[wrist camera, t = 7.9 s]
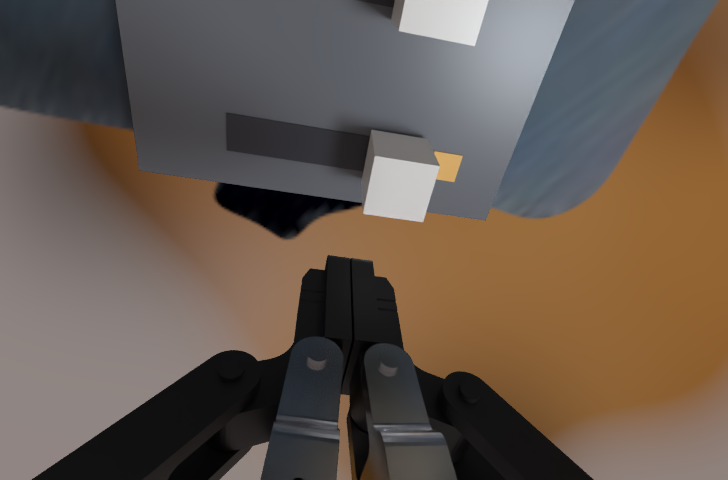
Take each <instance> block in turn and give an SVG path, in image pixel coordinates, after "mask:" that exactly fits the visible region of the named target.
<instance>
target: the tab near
mask: <svg viewBox="0 0 728 480" xmlns="http://www.w3.org/2000/svg"><path fill="white" fill-rule="evenodd" d="M488 1H489V0H395V2H394V7H393V13H392V18H391V22H392V23H393V24H394V26H395V27H396V28H397V30H398V31H401V32H406V33H411V34H416V35H421V36H426V37H431V38H436V39H441V40H446V41H451V42H456V43H461V44H466V45H471V46H475V44H476V41H477V37H478V34H479V31H480V28H481V24H482V21H483V18H484V14H485V11H486V8H487V4H488Z"/></svg>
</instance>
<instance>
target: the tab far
mask: <svg viewBox="0 0 728 480" xmlns="http://www.w3.org/2000/svg"><path fill="white" fill-rule="evenodd" d="M439 168H440V165H439V163H438V161H437V158H436V156H435V154H434V152H433V150H432V147H431V145H430V143H429V141H428V139H425V138H419V137H413V136H407V135H401V134H395V133H389V132H383V131H377V130H371V134H370V140H369V145H368V150H367V155H366V160H365V166H364V171H363V176H362V181H361V185H362V204H363V214H368V215H375V216H382V217H389V218H396V219H404V220H411V221H418V222H423V220H424V217H425V214H426V211H427V207H428V204H429V201H430V197H431V194H432V191H433V188H434V184H435V181H436V178H437V174H438V171H439Z"/></svg>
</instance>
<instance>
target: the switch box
mask: <svg viewBox="0 0 728 480" xmlns="http://www.w3.org/2000/svg"><path fill="white" fill-rule="evenodd" d="M115 1H116V8H117V15H118V22H119V29H120V36H121V43H122V50H123V58H124V65H125V72H126V79H127V86H128V93H129V100H130V107H131V114H132V122H133V129H134V136H135V143H136V150H137V157H138V164H139V170H140V171H146V172H153V173H160V174H166V175H173V176H180V177H187V178H194V179H201V180H208V181H215V182H222V183H229V184H236V185H243V186H250V187H257V188H263V189H270V190H277V191H284V192H291V193H298V194H305V195H312V196H319V197H326V198H333V199H340V200H347V201H354V202H361V203H362V185H361V181H362V176H363V171H364V166H365V160H366V155H367V150H368V145H369V140H370V134H371V130H377V131H383V132H389V133H395V134H401V135H407V136H413V137H419V138H425V139H428V141H429V143H430V145H431V147H432V150H433V152H434V154H435V156H436V158H437V161H438V163H439V165H440V168H439V171H438V174H437V178H436V181H435V184H434V188H433V191H432V194H431V197H430V201H429V204H428V207H427V211H426V212H430V213H437V214H445V215H451V216H458V217H465V218H471V219H479V220H486V218H487V216H488V213H489V211H490V208H491V206H492V203H493V201H494V198H495V196H496V193H497V191H498V188H499V186H500V183H501V181H502V179H503V176H504V174H505V171H506V169H507V166H508V164H509V161H510V159H511V156H512V154H513V151H514V149H515V146H516V144H517V141H518V139H519V136H520V134H521V131H522V129H523V127H524V124H525V122H526V119H527V117H528V114H529V112H530V109H531V107H532V104H533V102H534V99H535V97H536V94H537V92H538V89H539V87H540V84H541V82H542V79H543V77H544V75H545V72H546V70H547V67H548V65H549V62H550V60H551V57H552V55H553V52H554V50H555V47H556V45H557V42H558V40H559V37H560V35H561V32H562V30H563V27H564V25H565V23H566V20H567V18H568V15H569V13H570V10H571V8H572V5H573V3H574V0H489V1H488V4H487V8H486V11H485V14H484V18H483V21H482V24H481V28H480V31H479V34H478V37H477V41H476V44H475V46H471V45H466V44H461V43H456V42H451V41H446V40H441V39H436V38H431V37H426V36H421V35H416V34H411V33H406V32H401V31H398V30H397V28H396V27H395V26H394V24H393V23H392V22H391V18H392V13H393V7H394V2H395V0H115Z"/></svg>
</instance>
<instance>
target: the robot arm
mask: <svg viewBox="0 0 728 480" xmlns="http://www.w3.org/2000/svg"><path fill="white" fill-rule="evenodd" d="M395 301H396V300H395V293H394V289H393V287H392V286H391V284H390V283H389V281H388V280H387V278H384V277H376V276H374V269H373V262H372V261H369V260H361V259H354V258H351V259H349V258H345V257H337V256H330V255H328V256H327V261H326V266H325V270H318V269H309V271H308V272H307V273H306V274H305V276H304V277H303V278H302V285H301V292H300V299H299V306H298V313H297V321H296V329H295V337H294V343H293V345H292V346H291V348H290V349H289V350H288V351H286V352H285V353H284V354H282V355H280V356H278V357H275V358H272V359H268V360H262V361H257V360H256V359H255V358H254V357H253V356H252V355H250V354H248V353H246V352H243V351H237V350H230V351H224V352H221V353H219V354H216V355H215V356H213V357H211V358H210V359H208V360H207V361H205V362H204V363H203V364H201V365H200V366H198V367H197V368H195V369H194V370H192V371H191V372H189V373H188V374H186V375H185V376H183V377H182V378H180V379H179V380H177V381H176V382H175V383H173V384H172V385H170V386H169V387H167V388H166V389H164V390H163V391H161V392H160V393H159V394H157V395H155V396H154V397H152V398H151V399H150V400H148V401H147V402H145V403H144V404H142V405H141V406H139V407H138V408H136V409H135V410H133V411H132V412H131V413H129V414H128V415H126V416H125V417H123V418H122V419H120V420H119V421H117V422H116V423H114V424H113V425H111V426H110V427H109V428H107V429H105V430H104V431H102V432H101V433H100V434H98V435H97V436H95V437H94V438H92V439H91V440H89V441H88V442H86V443H85V444H83V445H82V446H80V447H79V448H78V449H76V450H75V451H73V452H72V453H70V454H69V455H67V456H66V457H64V458H63V459H61V460H60V461H58V462H57V463H55V464H54V465H53V466H51V467H50V468H48V469H47V470H46V471H44V472H42V473H41V474H39V475H38V476H36V477H35V478H33V479H32V480H219V479H221V478H222V476H224V475H225V474H226V473H227V472H228V471H229V470H230V469H231V468H232V467H233V466H234V465H235V464H236V463H237V462H238V461H239V460H240V459H241V458H242V457H243V456H244V455H245V454H246V453H247V452H248V451H249V450H250V449H251V447H252V446H254V445H258V444H261V443H265V442H269V445H268V450H267V454H266V458H265V462H264V467H263V471H262V476H261V480H336V478H337V465H338V453H339V439H340V430H339V429H338V417H339V404H340V394H345V395H350V407H349V411H348V414H347V431H348V442H349V454H350V465H351V475H352V480H593V479H592V478H591V477H590V476H589V475H588V474H587V473H586V472H584V471H583V470H582V469H581V468H580V467H579V466H578V465H577V464H575V463H574V462H573V461H572V460H571V459H570V458H569V457H568V456H566V455H565V454H564V453H563V452H562V451H561V450H560V449H559V448H557V447H556V446H555V445H554V444H553V443H552V442H551V441H550V440H548V439H547V438H546V437H545V436H544V435H543V434H542V433H541V432H540V431H538V430H537V429H536V428H535V427H534V426H533V425H532V424H531V423H530V422H528V421H527V420H526V419H525V418H524V417H523V416H522V415H521V414H519V413H518V412H517V411H516V410H515V409H514V408H513V407H512V406H510V405H509V404H508V403H507V402H506V401H505V400H504V399H503V398H502V397H500V396H499V395H498V394H497V393H496V392H495V391H494V390H493V389H491V388H490V387H489V386H488V385H487V384H486V383H485V382H484V381H482V380H481V379H480V378H478V377H477V376H475V375H473V374H470V373H467V372H460V371H459V372H453V373H451V374H449V375H448V376H447V377H446V378H445V379H443V378H440V377H437V376H435V375H432V374H430V373H427V372H424V371H423V370H421V369H419V368H418V367H416V366H415V365H414V364H413V362H412V359H411V357H410V356H409V355H408V353H406V352H405V351H404V348H403V342H402V336H401V330H400V324H399V318H398V313H397V306H396V303H395Z"/></svg>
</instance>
